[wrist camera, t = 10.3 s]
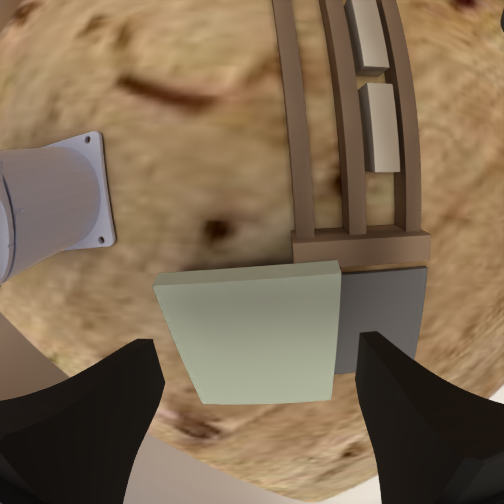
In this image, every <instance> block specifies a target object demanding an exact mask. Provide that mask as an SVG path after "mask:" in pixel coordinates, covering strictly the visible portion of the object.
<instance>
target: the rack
mask: <svg viewBox="0 0 504 504" xmlns="http://www.w3.org/2000/svg"><path fill="white" fill-rule="evenodd" d="M319 3H320V8H321V14H322V19H323V25H324V30H325V36H326V43H327V49H328V56H329V62H330V70H331V77H332V85H333V93H334V102H335V111H336V121H337V132H338V144H339V157H340V172H341V190H342V215H343V227H341V228H324V229H314V214H313V196H312V180H311V166H310V154H309V142H308V131H307V120H306V110H305V101H304V92H303V83H302V74H301V66H300V59H299V51H298V44H297V37H296V30H295V23H294V17H293V11H292V5H291V0H272V4H273V11H274V19H275V26H276V33H277V41H278V49H279V57H280V65H281V74H282V83H283V92H284V101H285V111H286V121H287V132H288V142H289V154H290V166H291V178H292V192H293V206H294V221H295V230H292V231H291V238H292V255H293V263H294V264H295V263H308V262H320V261H333V260H338V264H339V267H352V266H366V265H379V264H392V263H405V262H417V261H429V260H430V248H431V235H430V234H428V233H427V232H425V231H423V230H422V229H421V162H420V144H419V130H418V119H417V110H416V101H415V93H414V86H413V79H412V73H411V67H410V61H409V55H408V50H407V45H406V40H405V35H404V31H403V26H402V22H401V18H400V14H399V10H398V6H397V3H396V0H376V4H377V8H378V12H379V16H380V21H381V25H382V30H383V35H384V40H385V45H386V50H387V56H388V61H389V68H388V69H387V70H386V71H384V72H385V79H386V84H392V86H393V93H394V101H395V110H396V119H397V130H398V143H399V159H400V172H394V188H395V225H378V226H366V188H365V167H364V151H363V138H362V126H361V116H360V106H359V98H358V89H357V82H356V74H355V67H354V61H353V55H352V48H351V43H350V37H349V31H348V26H347V21H346V16H345V11H344V7H343V2H342V0H319Z"/></svg>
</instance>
